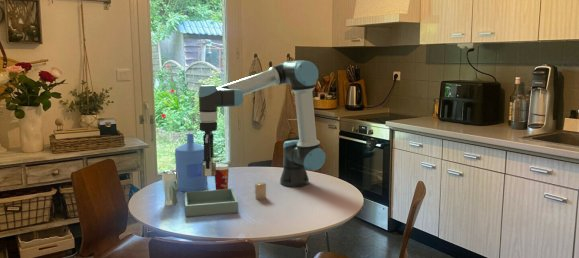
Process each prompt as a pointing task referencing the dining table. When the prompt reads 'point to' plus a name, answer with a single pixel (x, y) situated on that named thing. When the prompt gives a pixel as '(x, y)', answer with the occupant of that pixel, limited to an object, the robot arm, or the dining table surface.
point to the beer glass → (170, 187)
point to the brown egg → (260, 191)
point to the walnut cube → (213, 169)
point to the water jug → (190, 166)
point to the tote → (210, 202)
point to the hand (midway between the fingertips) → (209, 173)
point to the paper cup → (221, 176)
